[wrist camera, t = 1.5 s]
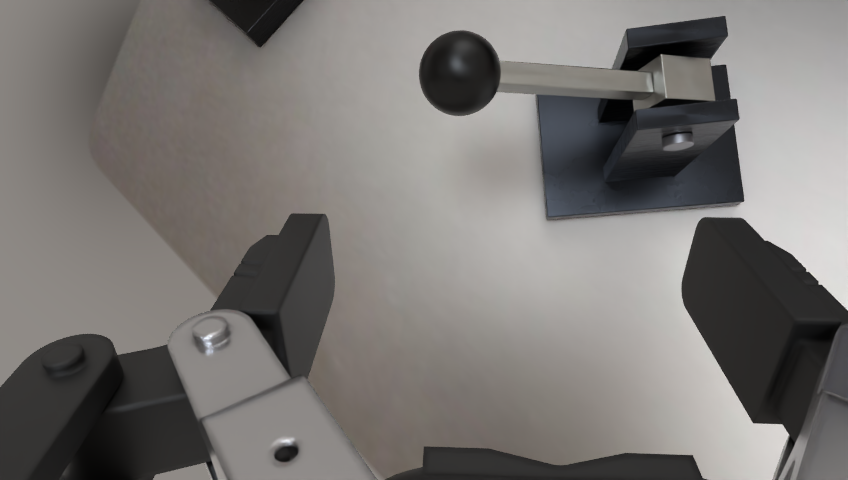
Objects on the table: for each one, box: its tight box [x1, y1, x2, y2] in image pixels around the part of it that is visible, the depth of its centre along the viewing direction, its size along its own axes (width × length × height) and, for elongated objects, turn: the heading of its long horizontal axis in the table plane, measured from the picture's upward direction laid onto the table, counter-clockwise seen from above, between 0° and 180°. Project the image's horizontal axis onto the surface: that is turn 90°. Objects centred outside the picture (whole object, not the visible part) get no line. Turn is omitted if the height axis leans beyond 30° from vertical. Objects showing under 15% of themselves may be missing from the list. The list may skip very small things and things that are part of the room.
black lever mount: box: [536, 16, 744, 220], centre depth 31 cm, size 12×9×12 cm
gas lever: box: [419, 31, 715, 116], centre depth 26 cm, size 14×4×4 cm, turn 93°
